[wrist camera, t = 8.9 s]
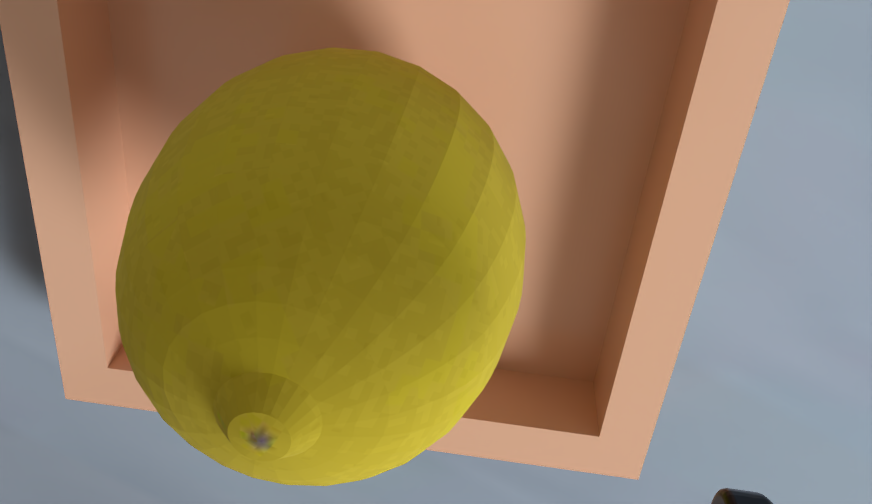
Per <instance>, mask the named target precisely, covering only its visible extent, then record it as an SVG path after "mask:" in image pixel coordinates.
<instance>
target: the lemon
mask: <svg viewBox="0 0 872 504" xmlns="http://www.w3.org/2000/svg"><path fill="white" fill-rule="evenodd" d="M525 245H526V231H525V223H524V218H523V214H522V209H521V205H520V200H519V196H518V191H517V187H516V182H515V178H514V173H513V171H512V169H511V166H510V164H509V162H508V160H507V158H506V157H505V155H504V153H503V151H502V149H501V147H500V145H499V143H498V141H497V140H496V138H495V136H494V134H493V132H492V130H491V128H490V127H489V125H488V124H487V123H486V122H485V120H484V119H483V118H482V117H481V116H480V115H479V114H478V113H477V112H476V111H475V110H474V109H473V108H472V106H471V105H470V104H469V103H468V102H467V101H466V100H465V99H464V98H463V97H462V96H461V95H460V94H459V93H458V91H457V90H455V89H454V88H452V87H451V86H449V85H448V84H446V83H445V82H443V81H441V80H440V79H438V78H437V77H435V76H434V75H432V74H431V73H429V72H428V71H426V70H425V69H423V68H422V67H420V66H418V65H415V64H412V63H409V62H406V61H404V60H401V59H398V58H395V57H392V56H390V55H387V54H384V53H381V52H378V51H368V50H358V49H347V48H336V47H333V48H324V49H318V50H312V51H306V52H300V53H294V54H287V55H283V56H280V57H277V58H275V59H273V60H270V61H268V62H266V63H264V64H262V65H259V66H257V67H255V68H253V69H251V70H248V71H246V72H244V73H242V74H240V75H237V76H235V77H233V78H232V79H230V80H229V81H227V82H225V83H224V84H223V85H221V86H220V87H219V88H218V89H217V90H216V91H215V92H214V93H212V94H211V95H210V96H209V97H208V98H207V99H206V100H205V101H203V102H202V103H201V104H200V105H199V106H198V107H197V108H195V109H194V110H193V111H192V112H191V113H190V114H189V115H188V116H187V117H185V118H184V119H183V120H182V121H181V122H180V123H179V124H178V126H177V127H176V128H175V129H174V131H173V132H172V133H171V135H170V136H169V138H168V140H167V141H166V143H165V145H164V146H163V148H162V150H161V151H160V153H159V155H158V156H157V158H156V160H155V161H154V163H153V165H152V166H151V168H150V170H149V171H148V173H147V175H146V176H145V178H144V180H143V181H142V183H141V185H140V187H139V189H138V191H137V194H136V196H135V198H134V201H133V204H132V207H131V210H130V213H129V216H128V220H127V225H126V229H125V233H124V237H123V242H122V246H121V250H120V255H119V259H118V264H117V269H116V282H115V293H116V304H117V316H118V327H119V332H120V336H121V340H122V344H123V347H124V350H125V352H126V355H127V357H128V360H129V363H130V365H131V368H132V370H133V373H134V376H135V378H136V380H137V382H138V383H139V385H140V386H141V388H142V390H143V391H144V393H145V394H146V395H147V397H148V398H149V400H150V401H151V403H152V404H153V406H154V407H155V409H156V410H157V411H158V413H159V414H160V416H161V417H162V419H163V420H164V421H165V422H166V423H167V424H168V425H169V426H171V427H172V428H173V429H174V430H175V431H176V432H177V433H178V434H179V435H180V436H181V437H182V438H183V439H184V440H186V441H187V442H188V443H189V444H190V445H191V446H193V447H194V448H196V449H197V450H199V451H201V452H202V453H204V454H205V455H207V456H209V457H210V458H212V459H213V460H215V461H217V462H218V463H220V464H221V465H223V466H225V467H228V468H230V469H233V470H235V471H238V472H240V473H243V474H245V475H248V476H250V477H253V478H257V479H262V480H266V481H271V482H276V483H280V484H286V485H313V486H328V485H334V484H340V483H346V482H353V481H359V480H363V479H366V478H369V477H373V476H375V475H378V474H380V473H383V472H385V471H388V470H390V469H393V468H395V467H398V466H400V465H403V464H405V463H407V462H408V461H410V460H411V459H413V458H414V457H416V456H417V455H418V454H420V453H421V452H423V451H424V450H425V449H427V448H428V447H429V446H431V445H432V444H434V443H435V442H436V441H438V440H439V439H440V438H442V437H443V436H444V435H446V434H447V433H448V432H449V431H450V430H451V429H452V428H453V427H454V426H455V424H456V423H457V422H458V421H459V420H460V419H461V417H462V416H463V415H464V414H465V412H466V411H467V410H468V408H469V407H470V406H471V405H472V403H473V402H474V401H475V400H476V398H477V397H478V396H479V394H480V393H481V392H482V391H483V389H484V388H485V386H486V384H487V383H488V381H489V379H490V378H491V376H492V374H493V372H494V370H495V368H496V366H497V364H498V361H499V359H500V356H501V354H502V351H503V349H504V346H505V343H506V341H507V338H508V336H509V333H510V330H511V328H512V325H513V323H514V320H515V317H516V314H517V312H518V309H519V304H520V300H521V296H522V288H523V277H524V261H525Z"/></svg>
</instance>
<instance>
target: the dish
mask: <svg viewBox="0 0 872 504" xmlns="http://www.w3.org/2000/svg"><path fill="white" fill-rule="evenodd" d="M789 1H790V0H0V26H1V32H2V38H3V44H4V49H5V55H6V61H7V66H8V72H9V78H10V84H11V89H12V95H13V101H14V107H15V112H16V118H17V124H18V129H19V135H20V141H21V147H22V152H23V158H24V164H25V169H26V175H27V181H28V187H29V192H30V198H31V204H32V209H33V215H34V221H35V227H36V232H37V238H38V244H39V249H40V255H41V261H42V267H43V272H44V278H45V284H46V289H47V295H48V301H49V307H50V312H51V318H52V324H53V329H54V335H55V341H56V347H57V352H58V358H59V364H60V369H61V375H62V381H63V387H64V392H65V398H66V399H71V400H78V401H85V402H92V403H99V404H106V405H113V406H120V407H127V408H134V409H141V410H148V411H156V412H158V411H157V410H156V409H155V407H154V406H153V404H152V403H151V401H150V400H149V398H148V397H147V395H146V394H145V393H144V391H143V390H142V388H141V386H140V385H139V383H138V382H137V380H136V378H135V376H134V373H133V370H132V368H131V365H130V363H129V360H128V357H127V355H126V352H125V350H124V347H123V344H122V340H121V336H120V332H119V327H118V316H117V304H116V293H115V282H116V269H117V264H118V259H119V255H120V250H121V246H122V242H123V237H124V233H125V229H126V225H127V220H128V216H129V213H130V210H131V207H132V204H133V201H134V198H135V196H136V194H137V191H138V189H139V187H140V185H141V183H142V181H143V180H144V178H145V176H146V175H147V173H148V171H149V170H150V168H151V166H152V165H153V163H154V161H155V160H156V158H157V156H158V155H159V153H160V151H161V150H162V148H163V146H164V145H165V143H166V141H167V140H168V138H169V136H170V135H171V133H172V132H173V131H174V129H175V128H176V127H177V126H178V124H179V123H180V122H181V121H182V120H183V119H184V118H185V117H187V116H188V115H189V114H190V113H191V112H192V111H193V110H194V109H195V108H197V107H198V106H199V105H200V104H201V103H202V102H203V101H205V100H206V99H207V98H208V97H209V96H210V95H211V94H212V93H214V92H215V91H216V90H217V89H218V88H219V87H220V86H221V85H223V84H224V83H225V82H227V81H229V80H230V79H232V78H233V77H235V76H237V75H240V74H242V73H244V72H246V71H248V70H251V69H253V68H255V67H257V66H259V65H262V64H264V63H266V62H268V61H270V60H273V59H275V58H277V57H280V56H283V55H287V54H294V53H300V52H306V51H312V50H318V49H324V48H333V47H336V48H347V49H358V50H368V51H378V52H381V53H384V54H387V55H390V56H392V57H395V58H398V59H401V60H404V61H406V62H409V63H412V64H415V65H418V66H420V67H422V68H423V69H425V70H426V71H428V72H429V73H431V74H432V75H434V76H435V77H437V78H438V79H440V80H441V81H443V82H445V83H446V84H448V85H449V86H451V87H452V88H454V89H455V90H457V91H458V93H459V94H460V95H461V96H462V97H463V98H464V99H465V100H466V101H467V102H468V103H469V104H470V105H471V106H472V108H473V109H474V110H475V111H476V112H477V113H478V114H479V115H480V116H481V117H482V118H483V119H484V120H485V122H486V123H487V124H488V125H489V127H490V128H491V130H492V132H493V134H494V136H495V138H496V140H497V141H498V143H499V145H500V147H501V149H502V151H503V153H504V155H505V157H506V158H507V160H508V162H509V164H510V166H511V169H512V171H513V173H514V178H515V182H516V187H517V191H518V196H519V200H520V205H521V209H522V214H523V218H524V223H525V231H526V245H525V261H524V277H523V288H522V296H521V300H520V304H519V309H518V312H517V314H516V317H515V320H514V323H513V325H512V328H511V330H510V333H509V336H508V338H507V341H506V343H505V346H504V349H503V351H502V354H501V356H500V359H499V361H498V364H497V366H496V368H495V370H494V372H493V374H492V376H491V378H490V379H489V381H488V383H487V384H486V386H485V388H484V389H483V391H482V392H481V393H480V394H479V396H478V397H477V398H476V400H475V401H474V402H473V403H472V405H471V406H470V407H469V408H468V410H467V411H466V412H465V414H464V415H463V416H462V417H461V419H460V420H459V421H458V422H457V423H456V424H455V426H454V427H453V428H452V429H451V430H450V431H449V432H448V433H447V434H446V435H444V436H443V437H442V438H440V439H439V440H438V441H436V442H435V443H434V444H432V445H431V446H429V447H428V448H427V449H425V450H432V451H439V452H446V453H453V454H460V455H467V456H474V457H481V458H489V459H496V460H503V461H510V462H517V463H524V464H531V465H538V466H545V467H552V468H559V469H566V470H574V471H581V472H588V473H595V474H602V475H609V476H616V477H623V478H630V479H637V480H638V479H639V476H640V473H641V469H642V466H643V463H644V460H645V457H646V454H647V450H648V447H649V444H650V441H651V438H652V435H653V431H654V428H655V425H656V422H657V419H658V416H659V412H660V409H661V406H662V403H663V400H664V397H665V393H666V390H667V387H668V384H669V381H670V378H671V374H672V371H673V368H674V365H675V362H676V359H677V355H678V352H679V349H680V346H681V343H682V340H683V336H684V333H685V330H686V327H687V324H688V321H689V317H690V314H691V311H692V308H693V305H694V302H695V299H696V295H697V292H698V289H699V286H700V283H701V280H702V276H703V273H704V270H705V267H706V264H707V261H708V257H709V254H710V251H711V248H712V245H713V242H714V238H715V235H716V232H717V229H718V226H719V223H720V219H721V216H722V213H723V210H724V207H725V204H726V200H727V197H728V194H729V191H730V188H731V185H732V181H733V178H734V175H735V172H736V169H737V166H738V162H739V159H740V156H741V153H742V150H743V147H744V143H745V140H746V137H747V134H748V131H749V128H750V124H751V121H752V118H753V115H754V112H755V109H756V105H757V102H758V99H759V96H760V93H761V90H762V86H763V83H764V80H765V77H766V74H767V71H768V67H769V64H770V61H771V58H772V55H773V52H774V48H775V45H776V42H777V39H778V36H779V33H780V29H781V26H782V23H783V20H784V17H785V14H786V10H787V7H788V4H789Z"/></svg>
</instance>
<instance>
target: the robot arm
mask: <svg viewBox="0 0 872 504" xmlns="http://www.w3.org/2000/svg"><path fill="white" fill-rule="evenodd" d="M711 504H773V503H772V502H771V501H770V500H769V499H768V498H767V497H765V496H764V495H762V494H760V493H757V492H750V491H743V490H736V489H729V488H725V489H721V490H719V491H718V492H717V493H716V495H715V496H714V498H713V501H712V503H711Z"/></svg>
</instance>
